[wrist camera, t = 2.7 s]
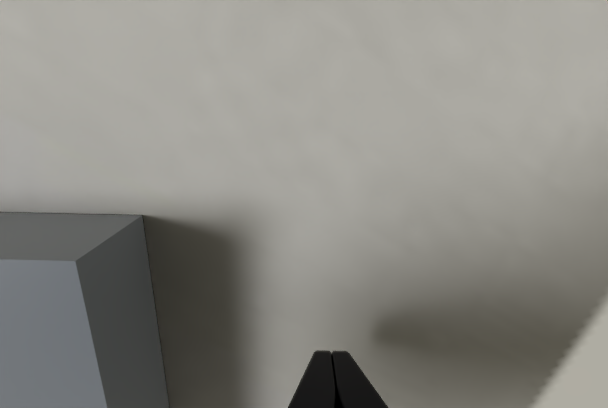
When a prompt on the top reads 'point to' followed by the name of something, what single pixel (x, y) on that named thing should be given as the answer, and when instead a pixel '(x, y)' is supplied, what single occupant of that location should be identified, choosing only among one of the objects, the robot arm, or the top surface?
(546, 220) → the top surface
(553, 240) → the top surface
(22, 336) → the grey chamfered block
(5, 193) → the top surface
